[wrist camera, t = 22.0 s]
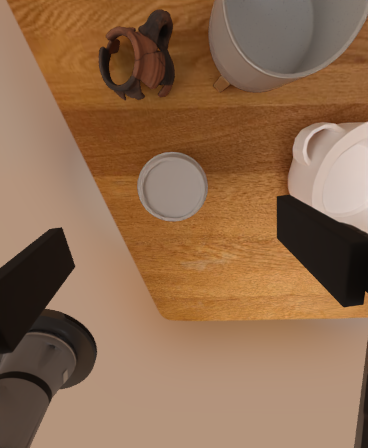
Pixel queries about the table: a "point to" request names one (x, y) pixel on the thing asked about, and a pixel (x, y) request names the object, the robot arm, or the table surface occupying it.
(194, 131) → the table surface
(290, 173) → the pot
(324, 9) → the planter
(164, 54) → the pottery mug
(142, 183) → the disposable coffee cup
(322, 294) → the table surface
